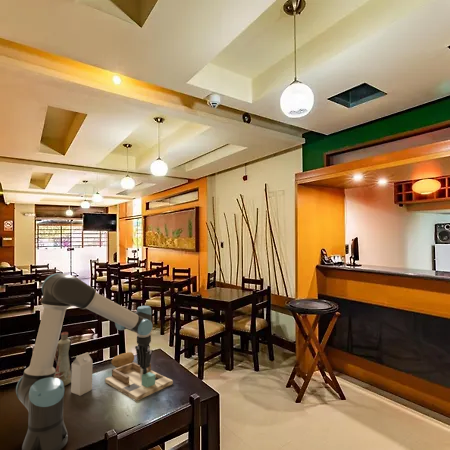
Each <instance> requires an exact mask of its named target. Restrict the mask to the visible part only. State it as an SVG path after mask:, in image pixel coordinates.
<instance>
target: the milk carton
mask: <svg viewBox="0 0 450 450" xmlns="http://www.w3.org/2000/svg"><path fill="white" fill-rule="evenodd" d="M75 357H76V358H75V359H74V360H73V362H71V383H70V386H71V387H70V388H71V389H70V392H71V393H72V394H74V395H78V396H82V395H84V394H86V393H88V392H90V391H92V390H93V359H92V357H91V356H90V354H89V352H85V353H82V354H79V355H77V356H75Z"/></svg>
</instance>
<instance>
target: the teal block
mask: <svg viewBox="0 0 450 450" xmlns="http://www.w3.org/2000/svg"><path fill="white" fill-rule="evenodd" d="M155 380H156V378H155V374H153V373H151V372H148V373H146V374H143V375H142V385H143V386H145V387H147V388H148V387H150V386H152V385H155Z"/></svg>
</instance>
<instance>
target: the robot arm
mask: <svg viewBox="0 0 450 450" xmlns="http://www.w3.org/2000/svg"><path fill="white" fill-rule="evenodd" d="M41 293H42V297H41V303H40V304H41V306H43V311H42V315H41V319H40V324H39V327H38V330H37V331H38V332H37V336H36V340H35V343H34V347H33V352H32V356H31V359H30V363H29V366H28V367H27V368H25V369H24V371H23V375H22V376H21V377H20V378H19V380H18V381H17V384H16V386H15V393H16V397H17V399H18V400H19V401H20V402H21V404H22V405H23V406H24V408H25V409H26V410H27V412H28V422H27V423H28V424H27V425H28V426H27V431H26V434H25V437H24V440H23V443H22V445H21V450H62V449H63V448H64V447H65V446H66V445H67V443H68V437H69V435H68V430H67V428H66V424H65V422H64V405H65V386H64V384H63V381H62V380H60V379H59V378H54V375H55V371H56V368H55V367H54V363H55V362H54V361H55V359H56V354H57V349H58V342H59V341H60V340H59V339H60V337H61V333H62V332H61V331H62V327H63V324H64V323H63V322H64V318H65V315H66V311H67V310H68V309H69V308H70V307H71V306H73V307H76V308H78V309H80V310H87V311H88V310H89V311H90V312H93V313H95V314H96V315H99V316H101V317H103V318H104V319H107V320H108V321H109V320H110V321H111V322H114V325H115V328H116V330H118V331H124V330H128V331H131V332H133V333H136V343H137V345H136V346H134V349H135V351H136V360H137V362H136V363H137V364H138V365H140V373H141V376H140V380H142V375H143V374H146V373H147V367H149V366H150V363H151V359H152V355H153V349H151V346H150V343H151V342H152V330H153V323H152V308H151V306H149V305H141V306H140V305H139V306H138V307H137V308H136V311H135V312H134V311H131V309H128V308H126V307H124V306H122V305H120V304H118V303H117V302H115V301H113V300H111V299H109V298H107V297H106V296H103V294H100V293H98V292H97V289H96V288H94V287H92V286H90V285H89V284H87V283H86V282H84V281H83V280H81V278H78V277H77V276H75V275H71V274H70V275H69V274H67V273H60V272H59V273H58V272H57V273H54V274H53V273H52V274H50V275H48V276H47V277H46V278H45V279H44V280H43V282H42V284H41Z"/></svg>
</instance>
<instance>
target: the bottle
mask: <svg viewBox="0 0 450 450" xmlns="http://www.w3.org/2000/svg"><path fill="white" fill-rule="evenodd" d="M60 337H61V338H60V340H59V341H58V345H57V349H58V357H57V360H56V361H57V362H56V368H55V370H56V371H55V375H54V378H59V379H60V380H62V381H63V384H64V387H65V386H67V385H69V384H71V377H72V369H71V365H70V356H69V350H70V346H71V340H70V339H69V338H68V337H69V332H68V331H62V332H61V333H60Z"/></svg>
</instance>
